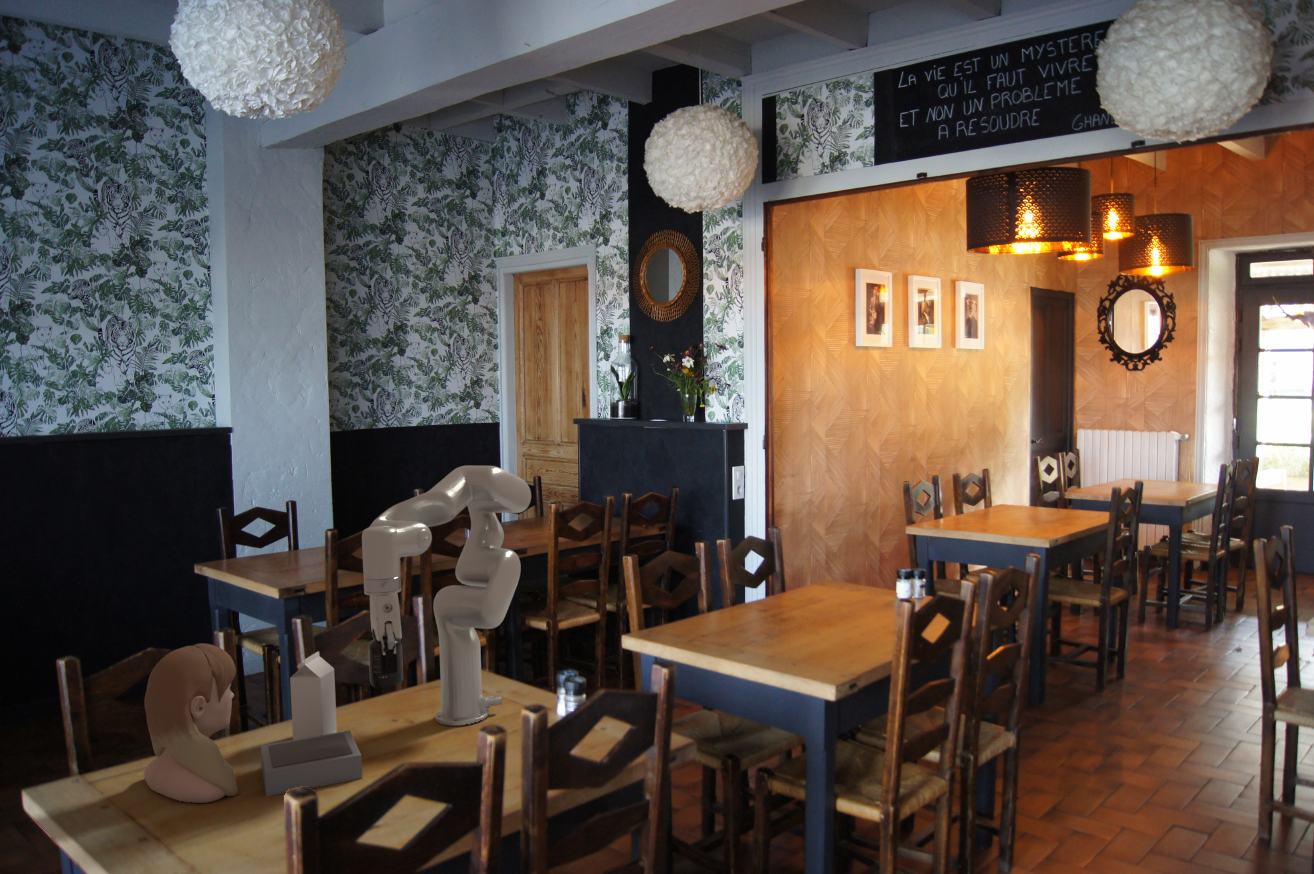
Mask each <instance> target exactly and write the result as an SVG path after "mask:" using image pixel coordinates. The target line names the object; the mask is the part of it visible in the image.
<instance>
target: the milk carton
mask: <svg viewBox="0 0 1314 874" xmlns="http://www.w3.org/2000/svg"><path fill="white" fill-rule="evenodd" d="M296 667H297V669H298V670H297V671H296V672H295V673H294V674H292V676H290V680H289V681H290V683H289V684H290V702H291V703H290V704H291V723H292V724H291V725H292V740H296V739H302V738H308V737H314V736H320V735H326V734H332V733H338V727H337V705H336V685H335V684H336V682H335V668H334V667H333V666H332V665H331V664H330V663H328V662H327V661H326V660H325V659H324V658H323V657H321V656H320V651H317V652H315V653H313V654H311V655H310V656H308V657H307V658H305V659H304V660H302V661H300V662H299V664H297V666H296Z"/></svg>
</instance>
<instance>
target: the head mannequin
mask: <svg viewBox="0 0 1314 874" xmlns="http://www.w3.org/2000/svg"><path fill="white" fill-rule="evenodd" d="M236 669H237V668H236V666H235V661H234V660H233V658H232V656H231V655H230V654H229V653H228V652H227V651H226V650H225V649H223V648H221V647H219V646H216V645H215V644H214V645H213V644H210V643H196V644H193V645H186V646H183V647H180V648H177V649H174V650H172V651H170V652H169V653H167V654H166V655H164V656H163V657H162V658H161V659H160V660H159V661H158V662H157V663H156V664H155V665H154V667H153V668H152V670H151V671H150V674H149V677H148V681H147V684H146V685H147V686H146V689H145V690H146V691H145V695H144V701H143V703H144V710H145V716H146V723H147V727H148V731H149V737H150V740H151V744H152V748H153V752H154V754H155V755H156V756H157V757H156V758H155V759H153V760H151V761H150V762H149V763H148V765H147V766H146V767H145V770H144V775H143V776H144V780H145V782H146V784H147V786H148V787H149V789H151V790H152V791H154V792H155V793H157V794H159V793H160V794H159V795H161V794H162V795H161V796H163V795H164V797H166V798H169V799H171V798H172V800H174V799H175V800H174V801H177V800H178V802H182V801H183V802H184V803H191V802H192V804H195V803H196V804H204V803H205V804H206V803H207V804H208V803H211V802H215V801H218V800H220V799H222V798H224V797H225V796H226V797H233V796H236V795H237V794H238V792H239V790H238V789H239V788H238V786H237V782H236V776H235V775H236V774H235V771H234V768H233V766H232V765H231V764H230V763H229V762H228V761H227V760H226V759H225V757H224V756H223V754H222V752H221V750H220V748H219V746H218V744H217V743H216V742H215V741H214V740H213V739H211V738H210V737H212V736H213V735H214V734H215V733H216V732H219V731H222V730H225V729H226V728H227V727H228V726H230V722H231V715H232V704H233V702H232V700H233V698H234V697H235V694H234V693H233V692H232V690H231V688H232V686H233V685H234V684H233V680H234V679H235V677H236V674H237V670H236Z"/></svg>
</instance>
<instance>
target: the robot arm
mask: <svg viewBox="0 0 1314 874" xmlns="http://www.w3.org/2000/svg"><path fill="white" fill-rule="evenodd" d="M531 500H532V491H531V488H530V486H529V484H528V483H527V482H526V481H525V480H524V479H523V478H521V477H519V476H517V475H515V474H513V473H511V472H509V471H507V470H505V469H503V468H501V467H498V466H496V465H462V466H459V467H456V468H455V469H453V470H452V471H451V472H449V473H448V474H446V476H445V477H444V478H442V479H441V480H440V481H439V482H437V483H436V484H435V485H434V486H433V487H432V488H430V489H429V490H428V491H426V492H424V493H421V494H417V495H416V496H414V497H411V498H409V499H407V500H406V499H405V500H404V501H401V502H398V503H396V504H394V505H392V506H391V507H389V508H387V509H386V510H385V511H383V512H382V513H381V514H380V515H378V517H376V518H375V519H374V520H373V521H372V523H371V524H370V525H369V527H367V528H365V529H364V530H363V531H362V534H361V545H362V546H361V547H362V552H361V553H362V568H363V569H362V570H363V571H362V572H363V589H364V590H363V591H364V595H366V596H369V616H370V618H369V619H370V628H371V631H372V628H373V629H374V632H375V636H376V639H377V640H378V641H379V642H381V649H382V655H381V673H382V674H389V673H396V672H397V653H396V645H395V637H396V638H397V639H398V640H400V641H401V639H402V637H403V635H402V634H403V633H402V623H401V612H400V610H401V609H400V603H399V597H398V596H399V595H398V593H400V592H402V581H401V580H402V579H401V577H402V576H401V572H402V571H401V558H403V557H416V556H420V555H422V554H423V553H425V552H426V551H428V549H429V548H430V546H431V544H432V541H433V536H432V532H431V530H430V527H436V526H440V525H443V524H446V523H449V522H450V521H452V520H453V519H455V517H457V516H458V515H459V514H460V513H461V512H462V511H463V510H464V509H465V508H466V507H467V509H468V512H469V517H470V525H471V526H470V531H469V534H468V537H467V539H466V542H465V544H464V545H463V548H462V551H461V553H460V556H459V557H458V561H457V564H456V565H455V566H456V567H455V571H454V572H455V577H456V579H457V581H458V582H460V583H461V584H462V585H458V584H457V585H456V584H455V585H452V584H451V585H448V586H445V587H443V588H441V589H440V590H438V592H436V595H435V597H434V599H433V603H432V604H433V607H432V608H433V615H434V617H435V622H436V626H437V632H438V641H439V642H438V643H439V645H438V646H439V667H440V668H439V670H440V671H439V673H440V674H439V676H440V695H441V696H440V697H441V699H440V700H441V709H440V710H438V711H437V712H436V713H435V721H436V722H437V723H439V724H440V725H445V726H456V727H457V726H458V727H459V726H467V725H466V724H468V725H472V724H471V723H473V724H475V723H474V722H477V723H479V722H478V721H480V720H482V719H484V718H486V717H487V716H488V715H489V716H490V710H489V709H490V707H492V706H495V707H496V706H501V705H503V698H502V696H497V697H495V696H494V695H488V696H486V697H485V695H484V694H483V689H482V687H483V685H482V660H481V659H482V658H481V656H482V655H481V641H480V638H479V635H478V633H477V631H476V629H485V630H486V629H489V630H490V629H495V628H497V627H498V626H500V625H501V623H502V622H503V621H504V619H505V617H506V614H507V613H508V610H509V609H510V608H509V607H510V605H511V602H512V600H513V597H514V594H515V591H516V590H517V586H518V584H519V580H520V577H521V572H522V571H521V569H522V568H521V567H522V566H521V560H520V557H519V555H518V554H517V553H516V552H515V551H513V550H512V549H508V548H502V546H503V543H504V538H505V532H504V529H503V527H502V524H501V523H500V521H499V518H498V517H497V514H498V513H499V514H500V513H501V514H502V513H504V514H518V513H519V514H520V513H522V512H524V511H525V510H527V509H528V508H529V505H530V504H531ZM496 513H497V514H496ZM394 634H395V635H394ZM394 636H395V637H394ZM386 637H387V639H386V640H383V638H386ZM385 643H387V644H386V645H384V644H385ZM489 716H488V717H489ZM488 717H487V718H488ZM487 718H486V719H487ZM484 720H485V719H484ZM482 721H483V720H482ZM480 722H481V721H480Z"/></svg>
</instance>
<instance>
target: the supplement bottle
mask: <svg viewBox="0 0 1314 874" xmlns="http://www.w3.org/2000/svg"><path fill="white" fill-rule="evenodd" d="M371 633H372V635H371V637H372V640H371V641H369V644H368V646H367V647H368V648H367V649H368V668H369V670H368V671H369V681H370V684H371V686H372V687H375V688H390V687H394V686H397V685H399V684H401V683H402V682H403V681H404V665H403V646H402V641H401V639H400V640H398V639H397V638H396V637H395V636H394V637H395V645H396V653H397V672H396V673H389V674H382V673H381V655H382V649H381V642H379V641H378V640H377V639H376V636H375V632H374V629H373V628H372V630H371ZM394 635H395V634H394ZM386 639H387V637H386V638H383V640H386ZM386 644H387V643H385V644H384V645H386Z"/></svg>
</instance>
